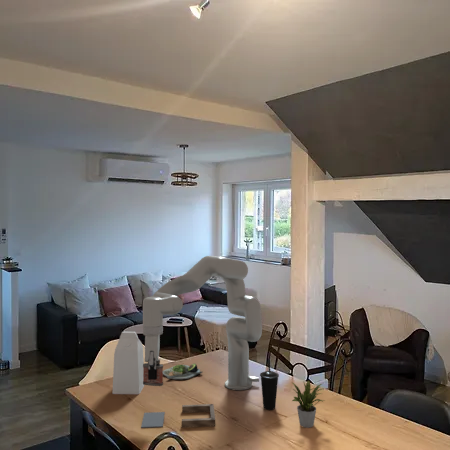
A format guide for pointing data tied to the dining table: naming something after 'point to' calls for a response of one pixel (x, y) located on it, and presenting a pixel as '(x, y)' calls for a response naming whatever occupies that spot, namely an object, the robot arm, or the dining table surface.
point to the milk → (128, 365)
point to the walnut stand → (200, 421)
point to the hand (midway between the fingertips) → (153, 376)
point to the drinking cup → (269, 388)
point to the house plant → (307, 405)
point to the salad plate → (182, 372)
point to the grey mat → (153, 420)
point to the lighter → (159, 374)
